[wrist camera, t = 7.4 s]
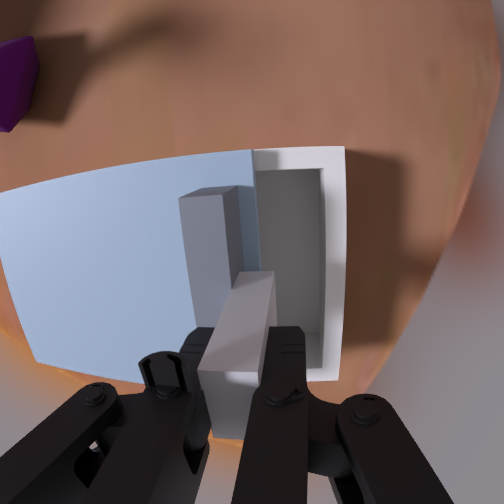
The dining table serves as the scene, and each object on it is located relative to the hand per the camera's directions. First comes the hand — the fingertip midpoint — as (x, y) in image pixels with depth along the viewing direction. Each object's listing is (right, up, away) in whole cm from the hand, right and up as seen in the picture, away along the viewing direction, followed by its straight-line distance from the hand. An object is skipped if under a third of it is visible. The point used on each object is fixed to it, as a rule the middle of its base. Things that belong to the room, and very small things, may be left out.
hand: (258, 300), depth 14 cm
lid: (-9, 0, +3) cm, 9 cm away
